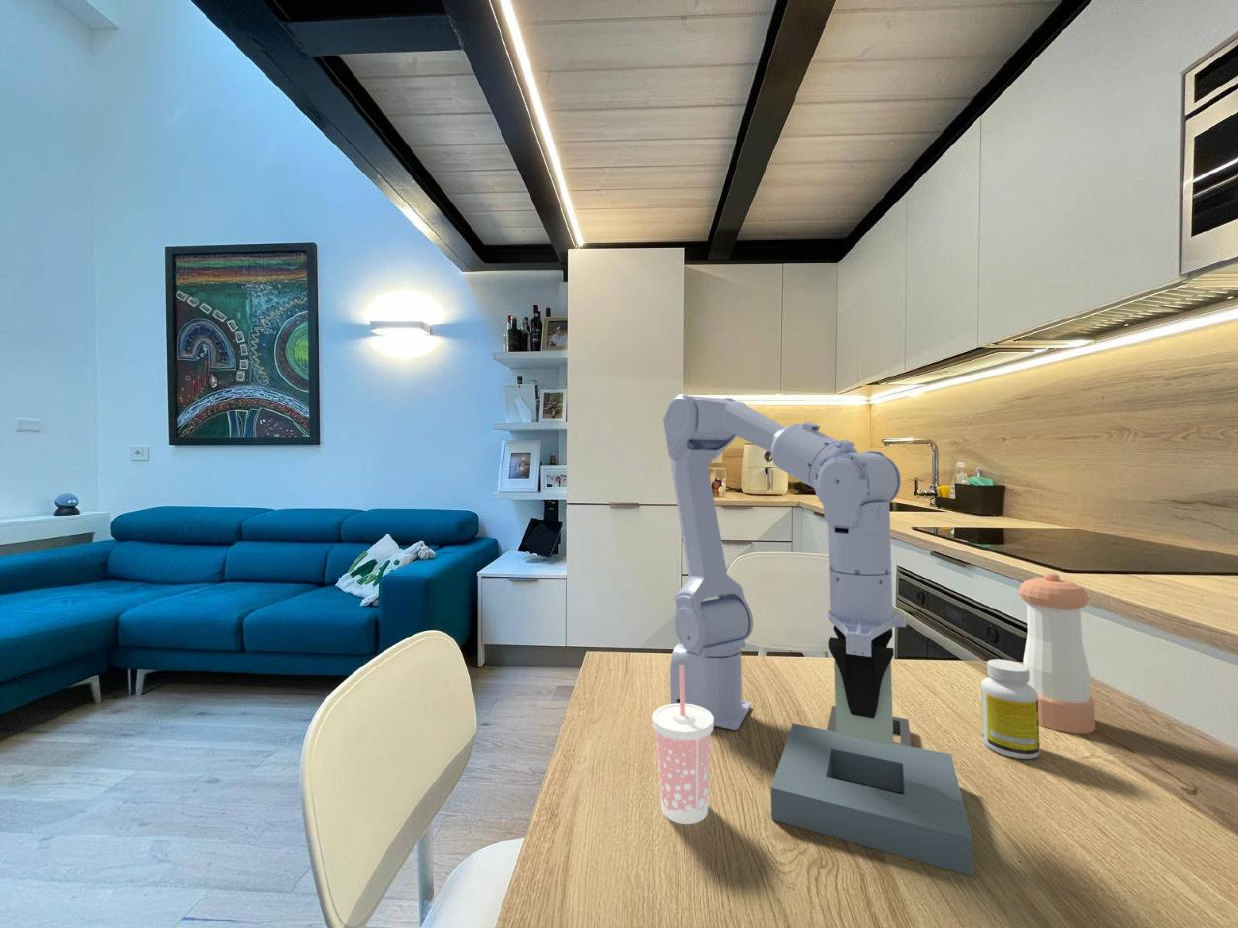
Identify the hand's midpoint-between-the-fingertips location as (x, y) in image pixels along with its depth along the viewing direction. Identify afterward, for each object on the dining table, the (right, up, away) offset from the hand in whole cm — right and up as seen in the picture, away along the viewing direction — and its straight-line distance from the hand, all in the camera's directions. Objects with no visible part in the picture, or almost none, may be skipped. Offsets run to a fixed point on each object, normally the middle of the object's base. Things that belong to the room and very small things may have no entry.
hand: (863, 705), depth 51 cm
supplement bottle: (+22, -10, +9) cm, 25 cm away
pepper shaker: (+33, -10, +16) cm, 38 cm away
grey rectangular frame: (+6, -10, +12) cm, 16 cm away
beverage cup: (-18, -10, -1) cm, 21 cm away
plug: (0, -2, 0) cm, 2 cm away
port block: (0, -9, 0) cm, 9 cm away
